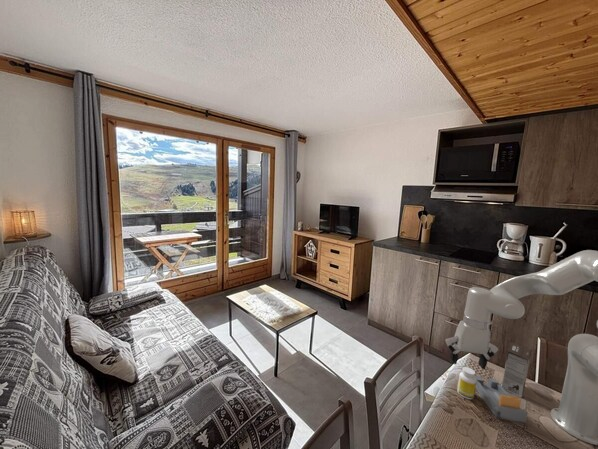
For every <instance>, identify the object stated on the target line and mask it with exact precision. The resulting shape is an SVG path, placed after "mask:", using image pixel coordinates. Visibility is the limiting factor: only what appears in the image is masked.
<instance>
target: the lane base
mask: <svg viewBox="0 0 598 449" xmlns="http://www.w3.org/2000/svg"><path fill="white" fill-rule="evenodd" d="M475 378H476V387H475V390H476V391H477V392H478V394H479V395H480V397H481V398H482V399H483V401H484V402H485V404H486V405H487V407H488V409H489V410H490V411H491V413H492V414H493V415H494V417H495V418H497V419H502V420H508V421H513V422H518V423H524V424H526V423H527V416H528V410H526V409H524V408H513V407H507V406H500V405H498V401H497V400H496V399H495V397H494V396H493V392H497V393H498V395H499V396H500V394H501V395H507V396H511V395H510V394H509V393H508V391H506V390H505V389H504V388H503V387H502V384H501V383H500V382H499V381H498V380H497V379H496V378H490V377H489V378H488V382H487V383H485V381H484V380H485V379H483V377H482V376H477V375H475Z"/></svg>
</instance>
